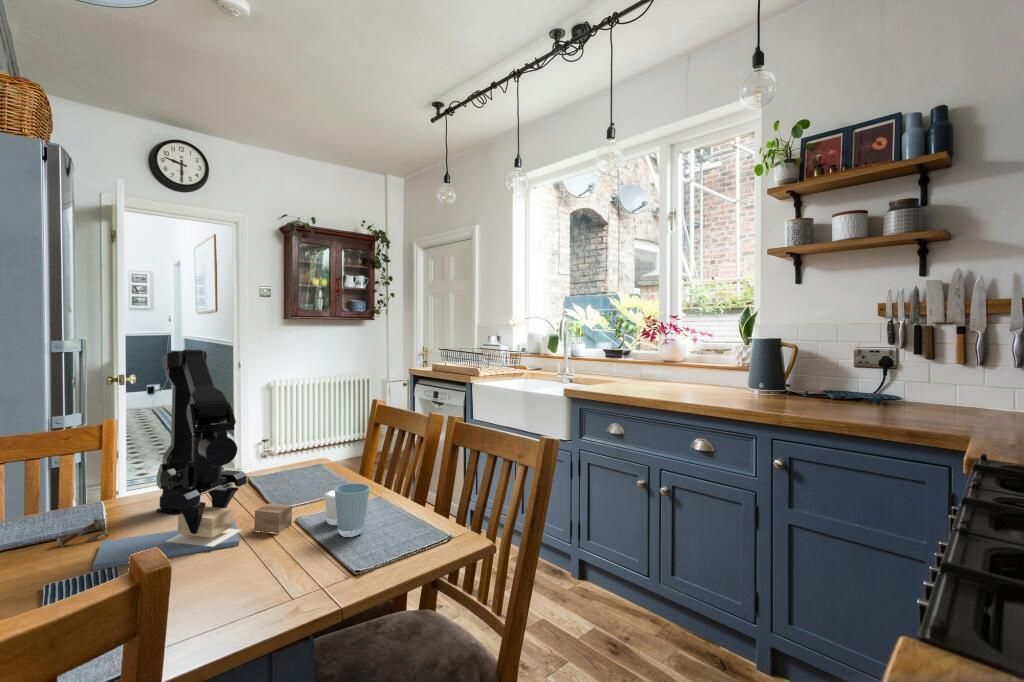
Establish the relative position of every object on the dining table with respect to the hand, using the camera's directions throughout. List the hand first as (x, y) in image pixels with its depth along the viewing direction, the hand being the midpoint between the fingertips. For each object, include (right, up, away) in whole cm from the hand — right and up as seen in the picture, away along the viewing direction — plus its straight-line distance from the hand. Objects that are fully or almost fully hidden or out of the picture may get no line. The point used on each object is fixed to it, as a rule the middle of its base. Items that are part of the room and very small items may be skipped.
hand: (205, 527), depth 108 cm
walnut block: (+11, -3, +7) cm, 14 cm away
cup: (+29, -4, +7) cm, 30 cm away
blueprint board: (-5, -3, -3) cm, 7 cm away
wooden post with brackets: (-24, -2, -3) cm, 24 cm away
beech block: (0, -1, 0) cm, 0 cm away
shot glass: (+24, -4, +14) cm, 28 cm away
